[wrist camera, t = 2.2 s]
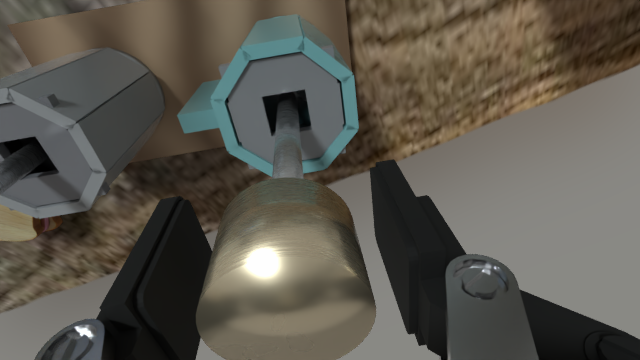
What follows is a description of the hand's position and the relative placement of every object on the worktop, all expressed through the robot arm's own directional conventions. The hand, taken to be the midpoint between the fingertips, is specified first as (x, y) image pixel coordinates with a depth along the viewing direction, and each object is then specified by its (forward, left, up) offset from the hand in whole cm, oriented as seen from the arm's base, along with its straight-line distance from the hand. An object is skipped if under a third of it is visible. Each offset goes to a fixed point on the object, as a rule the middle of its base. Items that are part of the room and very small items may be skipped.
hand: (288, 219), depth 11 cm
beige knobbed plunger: (0, 0, -13) cm, 13 cm away
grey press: (+16, 0, -21) cm, 27 cm away
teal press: (+1, 0, -21) cm, 21 cm away
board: (+8, 0, -23) cm, 24 cm away
